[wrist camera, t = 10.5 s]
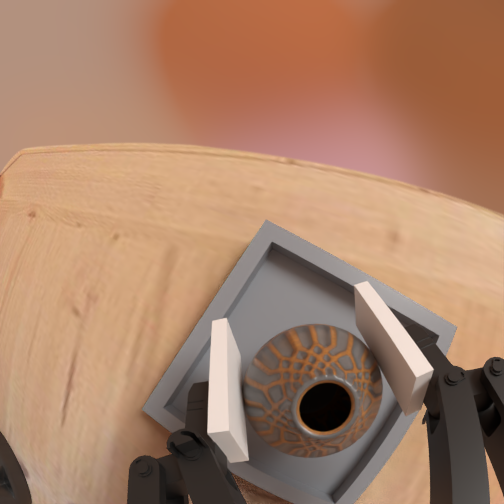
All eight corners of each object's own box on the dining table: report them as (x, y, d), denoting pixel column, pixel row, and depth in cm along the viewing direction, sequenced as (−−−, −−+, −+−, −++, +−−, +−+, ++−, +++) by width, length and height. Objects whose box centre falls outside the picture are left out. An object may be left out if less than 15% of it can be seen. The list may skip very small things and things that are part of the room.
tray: (156, 404, 19) (141, 409, 17) (268, 233, 23) (265, 219, 21) (333, 505, 15) (338, 520, 12) (441, 330, 19) (457, 327, 16)
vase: (277, 450, 15) (270, 517, 7) (234, 357, 18) (191, 357, 10) (376, 403, 16) (441, 433, 7) (333, 312, 18) (371, 274, 10)
